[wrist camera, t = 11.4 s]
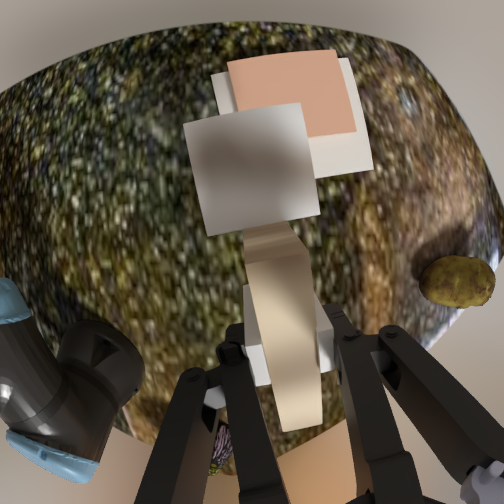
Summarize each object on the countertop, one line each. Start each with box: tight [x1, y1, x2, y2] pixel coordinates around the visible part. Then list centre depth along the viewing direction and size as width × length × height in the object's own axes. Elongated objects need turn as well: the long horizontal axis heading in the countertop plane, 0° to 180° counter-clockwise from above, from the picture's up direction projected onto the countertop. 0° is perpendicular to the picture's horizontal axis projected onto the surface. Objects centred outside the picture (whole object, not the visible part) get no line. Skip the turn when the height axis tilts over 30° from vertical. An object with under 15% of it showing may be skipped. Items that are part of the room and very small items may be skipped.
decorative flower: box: [208, 423, 233, 476], centre depth 39 cm, size 14×12×15 cm
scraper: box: [183, 102, 322, 432], centre depth 15 cm, size 19×7×6 cm, turn 11°
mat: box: [211, 58, 374, 178], centre depth 27 cm, size 16×14×1 cm
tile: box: [227, 50, 357, 138], centre depth 25 cm, size 12×2×10 cm
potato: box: [419, 255, 495, 309], centre depth 30 cm, size 8×13×8 cm, turn 75°
